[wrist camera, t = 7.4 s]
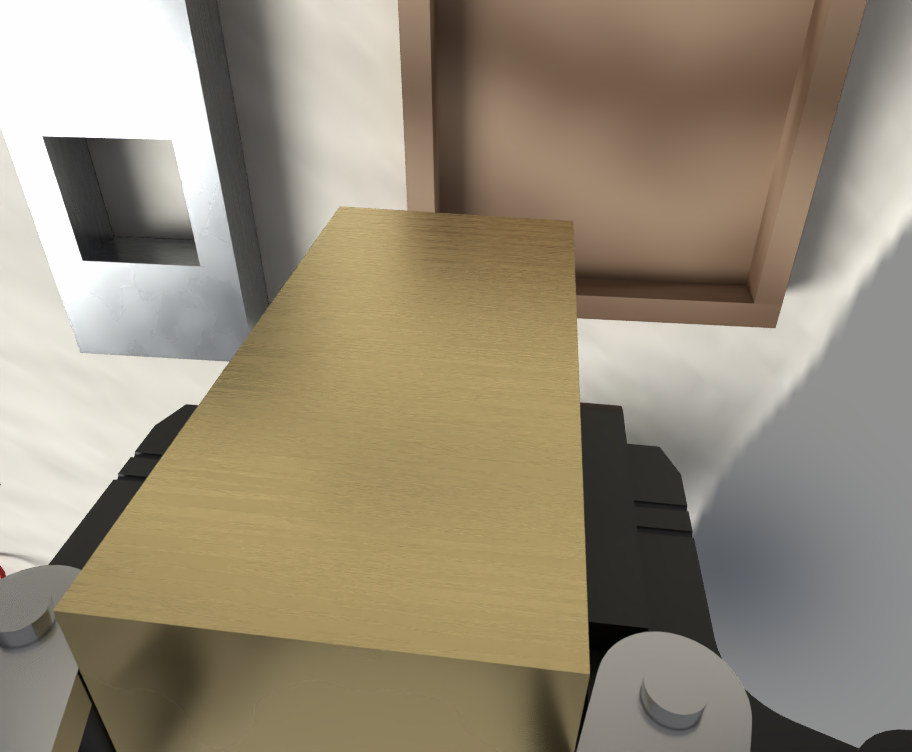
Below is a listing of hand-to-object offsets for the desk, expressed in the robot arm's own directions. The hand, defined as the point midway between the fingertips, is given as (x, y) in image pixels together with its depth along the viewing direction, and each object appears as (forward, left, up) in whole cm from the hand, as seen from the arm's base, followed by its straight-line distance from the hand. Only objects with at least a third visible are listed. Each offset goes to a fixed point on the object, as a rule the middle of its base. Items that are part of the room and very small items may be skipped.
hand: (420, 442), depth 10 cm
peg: (0, 0, -4) cm, 4 cm away
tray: (-2, +4, -20) cm, 20 cm away
